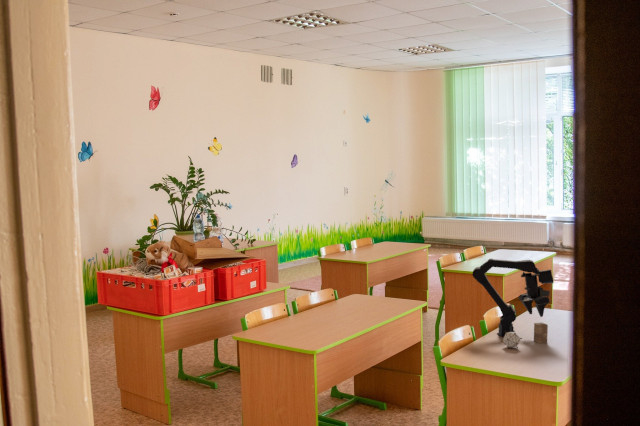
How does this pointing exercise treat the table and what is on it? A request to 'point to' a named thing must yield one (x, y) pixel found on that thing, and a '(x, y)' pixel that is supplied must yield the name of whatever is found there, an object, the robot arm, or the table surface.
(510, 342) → the game die
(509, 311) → the robot arm
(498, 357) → the table surface
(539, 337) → the brown rectangular block
